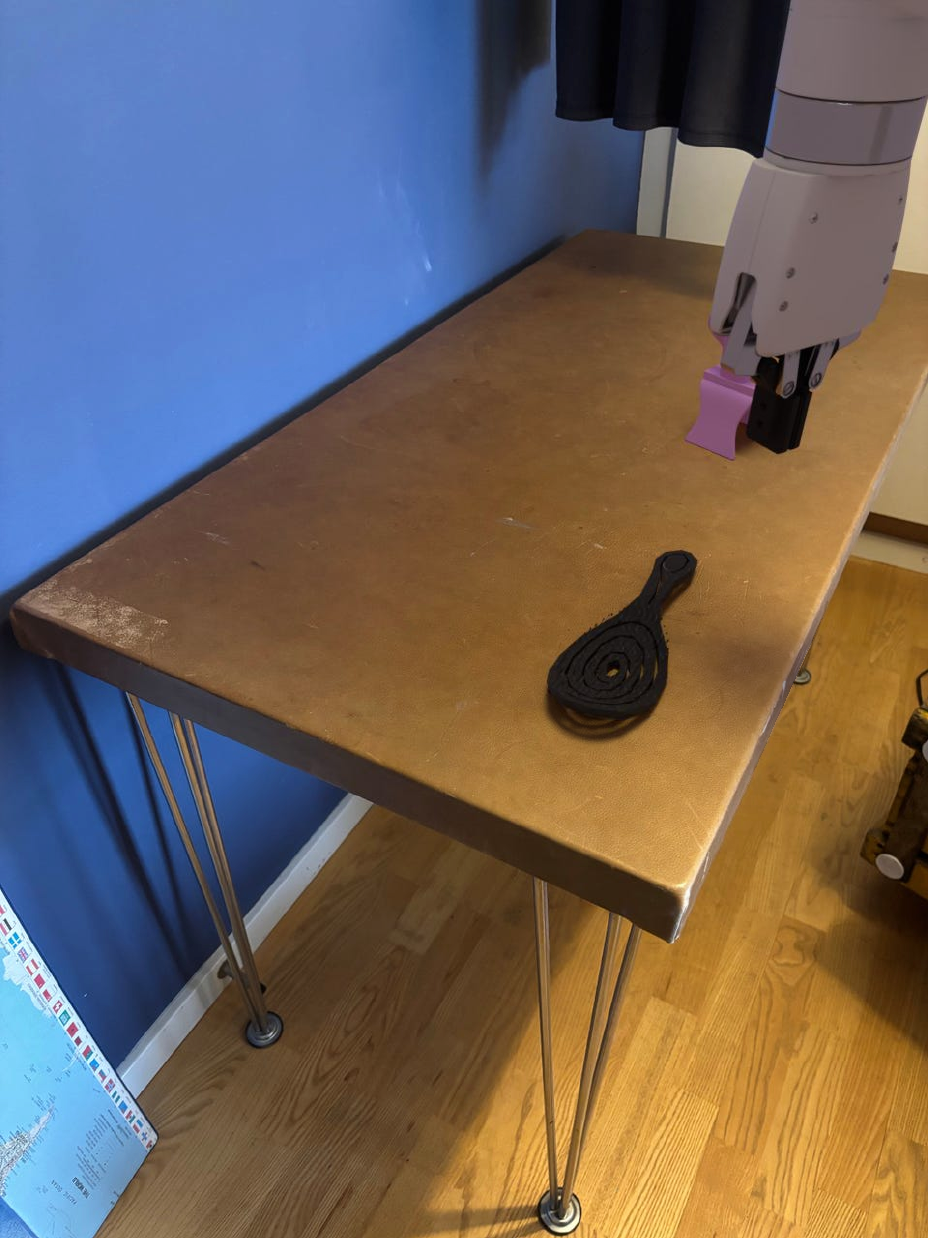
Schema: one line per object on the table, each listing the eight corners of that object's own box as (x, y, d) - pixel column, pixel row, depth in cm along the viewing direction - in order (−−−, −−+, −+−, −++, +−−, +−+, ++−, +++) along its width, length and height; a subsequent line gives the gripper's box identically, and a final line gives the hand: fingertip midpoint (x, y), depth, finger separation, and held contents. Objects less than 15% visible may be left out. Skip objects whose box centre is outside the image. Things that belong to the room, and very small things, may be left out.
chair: (787, 436, 100) (820, 300, 90) (740, 463, 95) (770, 323, 86) (724, 411, 105) (749, 279, 95) (676, 436, 100) (697, 300, 91)
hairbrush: (736, 544, 79) (635, 714, 61) (728, 579, 81) (628, 754, 63) (645, 519, 82) (524, 675, 64) (639, 554, 84) (521, 714, 66)
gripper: (880, 103, 53) (808, 395, 65) (685, 134, 48) (645, 448, 59) (995, 125, 48) (895, 437, 60) (793, 162, 43) (726, 500, 54)
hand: (771, 442), depth 59 cm, fingers closed
